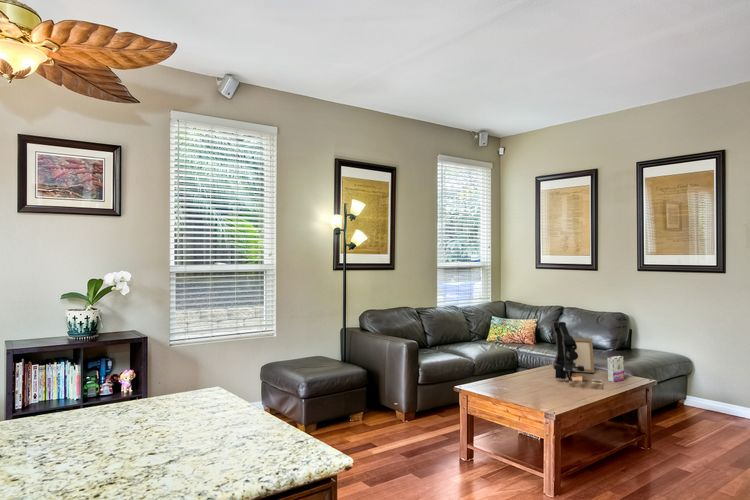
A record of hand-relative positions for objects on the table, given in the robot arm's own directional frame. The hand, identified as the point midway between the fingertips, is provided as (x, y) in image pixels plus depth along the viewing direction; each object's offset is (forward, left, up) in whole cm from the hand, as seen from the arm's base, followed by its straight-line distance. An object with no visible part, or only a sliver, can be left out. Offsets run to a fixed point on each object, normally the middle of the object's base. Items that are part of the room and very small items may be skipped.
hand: (569, 380), depth 338 cm
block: (+5, 0, -2) cm, 5 cm away
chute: (+10, 0, -3) cm, 10 cm away
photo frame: (+3, +45, -3) cm, 45 cm away
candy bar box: (+29, +24, -3) cm, 38 cm away
